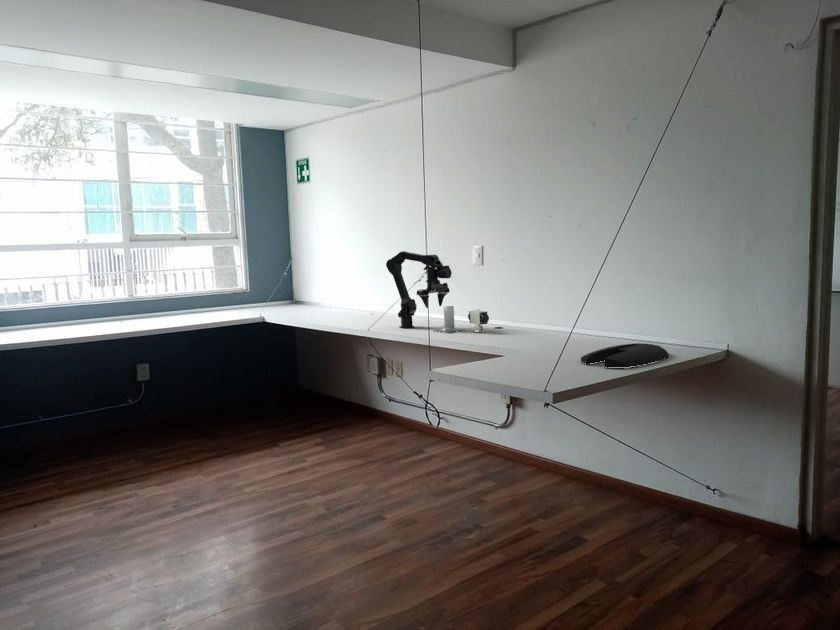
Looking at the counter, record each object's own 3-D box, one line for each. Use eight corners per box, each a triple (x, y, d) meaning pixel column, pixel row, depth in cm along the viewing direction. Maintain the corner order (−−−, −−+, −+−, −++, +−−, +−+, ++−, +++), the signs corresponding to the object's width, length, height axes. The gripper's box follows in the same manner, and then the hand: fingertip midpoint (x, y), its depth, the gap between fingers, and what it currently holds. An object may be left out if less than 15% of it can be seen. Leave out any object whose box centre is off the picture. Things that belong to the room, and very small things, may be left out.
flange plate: (433, 331, 361) (433, 329, 361) (450, 328, 369) (450, 326, 369) (447, 333, 352) (447, 331, 352) (465, 330, 359) (465, 328, 359)
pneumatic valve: (482, 334, 346) (482, 310, 344) (468, 331, 355) (467, 308, 354) (490, 332, 349) (490, 309, 347) (476, 330, 358) (475, 307, 357)
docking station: (683, 356, 274) (684, 344, 273) (624, 372, 249) (624, 359, 248) (630, 349, 293) (630, 337, 293) (570, 363, 268) (569, 351, 268)
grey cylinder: (441, 329, 360) (441, 306, 358) (448, 327, 364) (447, 305, 362) (450, 330, 356) (449, 307, 354) (457, 328, 360) (456, 306, 359)
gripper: (428, 280, 353) (429, 310, 355) (455, 277, 364) (456, 306, 366) (415, 279, 362) (416, 308, 364) (442, 276, 373) (443, 305, 375)
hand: (433, 307), depth 367 cm, fingers open, 9 cm apart
